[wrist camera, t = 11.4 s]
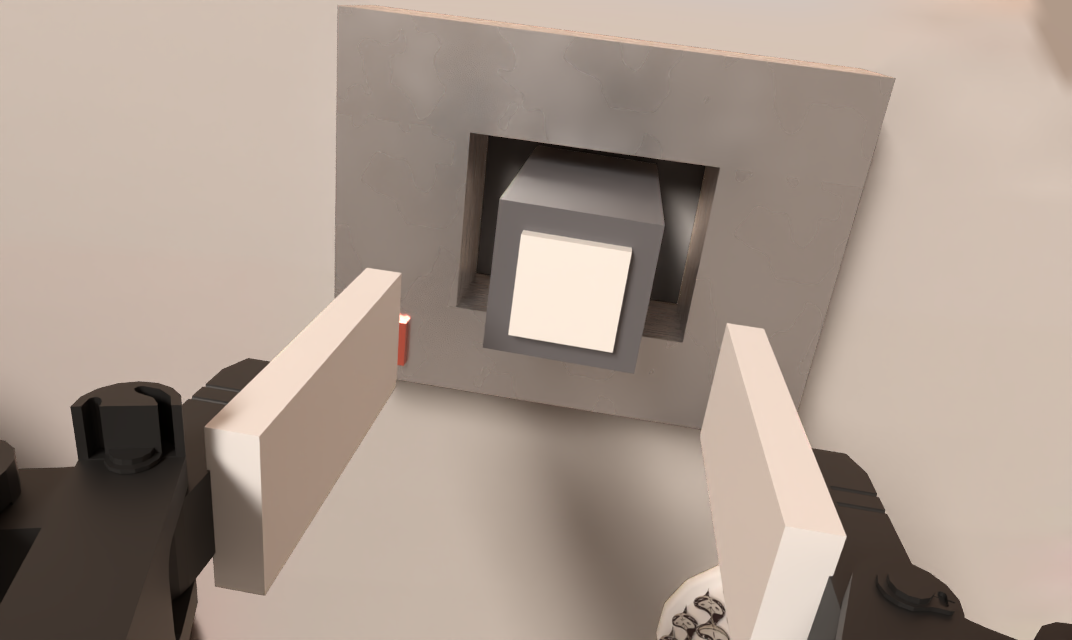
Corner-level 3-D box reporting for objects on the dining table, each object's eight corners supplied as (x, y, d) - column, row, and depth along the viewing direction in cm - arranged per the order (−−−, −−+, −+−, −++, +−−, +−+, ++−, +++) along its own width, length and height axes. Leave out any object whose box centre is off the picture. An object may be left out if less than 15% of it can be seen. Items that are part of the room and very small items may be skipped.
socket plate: (771, 394, 29) (789, 448, 25) (366, 330, 30) (330, 373, 26) (860, 68, 24) (899, 79, 21) (375, 5, 25) (333, 5, 22)
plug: (634, 276, 28) (634, 380, 20) (522, 258, 28) (479, 354, 20) (656, 163, 26) (665, 230, 18) (537, 145, 26) (496, 202, 19)
